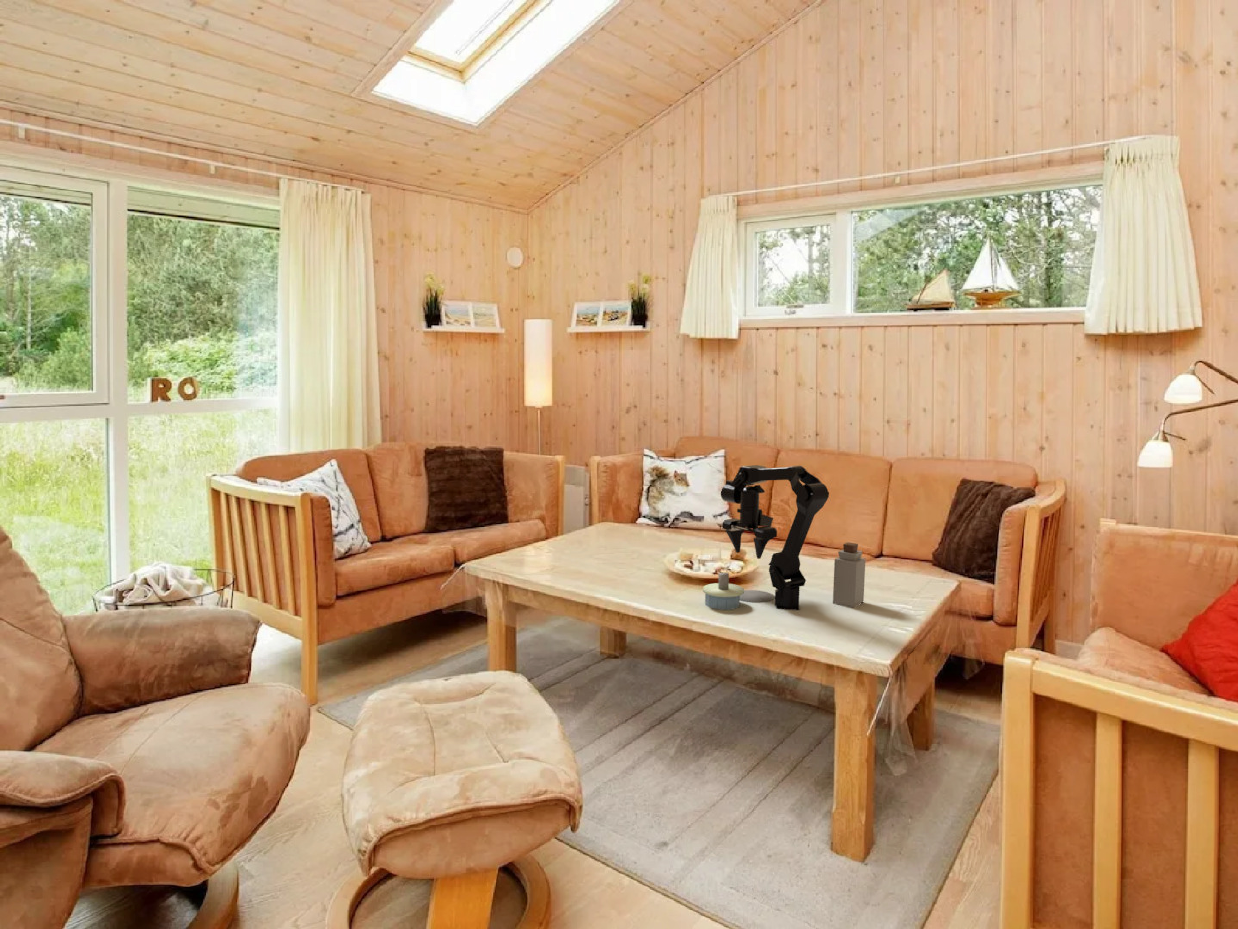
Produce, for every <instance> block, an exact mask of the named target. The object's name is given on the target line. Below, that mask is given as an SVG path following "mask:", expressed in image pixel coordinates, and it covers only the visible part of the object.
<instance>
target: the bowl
mask: <svg viewBox="0 0 1238 929" xmlns="http://www.w3.org/2000/svg"><path fill="white" fill-rule="evenodd" d="M704 594H705V599H704V600H705V601H704V603H705V606H706V607H709V608H711V609H715V610H734V609H737V608H739V607H740V604H741V601H740V596H736V597H716V596H711V595H708V594H706V593H704Z"/></svg>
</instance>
